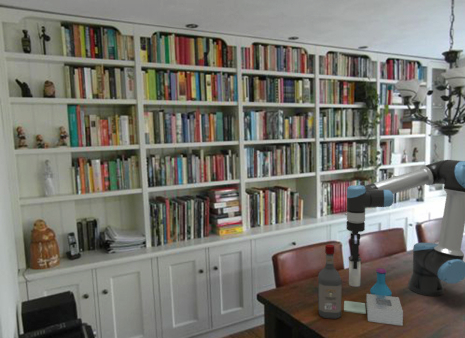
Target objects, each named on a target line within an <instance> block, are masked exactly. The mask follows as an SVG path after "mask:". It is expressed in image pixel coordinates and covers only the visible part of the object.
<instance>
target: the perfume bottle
mask: <svg viewBox="0 0 465 338" xmlns="http://www.w3.org/2000/svg"><path fill="white" fill-rule="evenodd" d="M375 271H376V283H375V284H373V286H372V287H370V289H369V290H370V293H369V294H373V295H382V296H391V297H392V294H393V293H392V290H391V289H390V288H389V287H388V284H386V274H387V270H386V269H385V268H382V267H379V268H376V269H375Z"/></svg>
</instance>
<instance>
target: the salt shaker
mask: <svg viewBox="0 0 465 338" xmlns="http://www.w3.org/2000/svg"><path fill="white" fill-rule="evenodd" d="M358 259H359V264H358V276H352V261H350V260H352V255H349V256H348V285H349V286H352V287H360V286H361V271H362V270H361V269H362V268H361V267H362V265H361V261H362V257H360V256H359V258H358Z"/></svg>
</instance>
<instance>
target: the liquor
mask: <svg viewBox="0 0 465 338" xmlns="http://www.w3.org/2000/svg"><path fill="white" fill-rule="evenodd" d="M324 247H325V250H324V252H325V264H324V267H323V268H322V269H321V270H320V271H319V273H318V274H317V275H318V281H317V282H318V283H317V285H318V286H317V289H318V290H317V292H318V293H317V294H318V295H317V301H318V302H317V309H318V314H319V316H320V317H322V318H324V319H333V320H334V319H335V320H337V319H338V318H341V316H342V279H341V275H340V273H339V272H338V270H337V269H336V267H335V265H334V264H335V263H334V262H335V261H334V258H335V257H334V254H335V245H333V244H325V246H324Z"/></svg>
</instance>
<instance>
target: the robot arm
mask: <svg viewBox="0 0 465 338" xmlns="http://www.w3.org/2000/svg"><path fill="white" fill-rule="evenodd" d="M437 184H439V185H443V190H444V191H445V193H446V196H445V203H444V209H443V216H442V221H441V227H440V233H439V240H438V243H433V242H417V243H415V244H413V249H412V273H411V276H410V278H409V280H408V283H407V284H408V285H407V286H408V289H409V290H411V291H412V292H413V293H416V294H419V295H423V296H427V297H428V296H429V297H437V296H441V295H443V294H444V286H443V283H442V282H445V283H447V284H457V283H460V282H462V281H463V280H464V279H465V261H464V256H465V253H464V252H463V251H462V250H461V249H462V245H463V244H462V243H463V237H464V233H465V160H454V159H444V160H439V161H435V162H432V163H429V164H428V163H427V164H425V165H422V166H420V168H419V169H416V170H413V171H409V172H406V173H403V174H400V175H399V174H398V175H396V176H393V177H389V178H386V179H382V180H379V181H376V182H373V183H372V182H371V183H369V184H357V185H349V186H348V187H347V190H346V213H345V216H346V230H347V231H348V232H351V233H350V243H351V244H350V245H351V246H352V247H351V256H352V260H350V261H352V276H358V264H359V259H358V258H359V257H360V256H361V255H360V253H359V251H360V250H359V247H360V241H361V233H362V232H365V229H366V228H365V227H366V226H365V225H366V223H365V221H366V208H388V207H392V205H393V203H394V194H397V193H401V192H405V191H408V190H410V189H413V188H417V187H422V186H424V185H426V186H431V185H437Z"/></svg>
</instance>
